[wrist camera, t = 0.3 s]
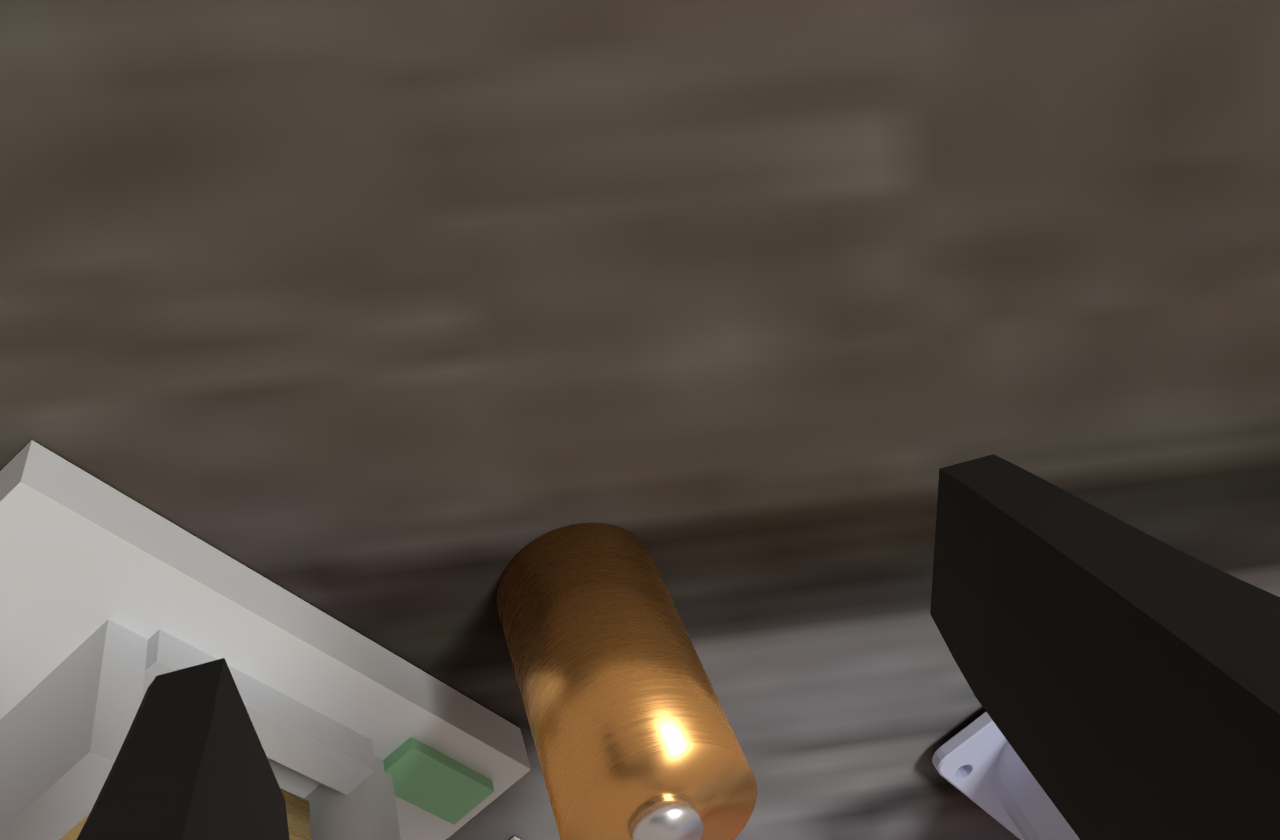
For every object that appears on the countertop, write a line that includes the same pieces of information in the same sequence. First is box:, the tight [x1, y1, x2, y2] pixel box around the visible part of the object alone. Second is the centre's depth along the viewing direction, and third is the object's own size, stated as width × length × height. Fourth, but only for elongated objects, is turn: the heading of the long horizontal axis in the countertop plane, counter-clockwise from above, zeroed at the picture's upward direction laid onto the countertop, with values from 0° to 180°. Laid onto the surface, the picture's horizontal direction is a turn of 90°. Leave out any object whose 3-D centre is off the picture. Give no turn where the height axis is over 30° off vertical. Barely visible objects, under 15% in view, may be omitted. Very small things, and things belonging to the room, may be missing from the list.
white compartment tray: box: [0, 440, 531, 840], centre depth 21 cm, size 12×9×4 cm
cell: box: [497, 523, 757, 840], centre depth 21 cm, size 3×3×6 cm
